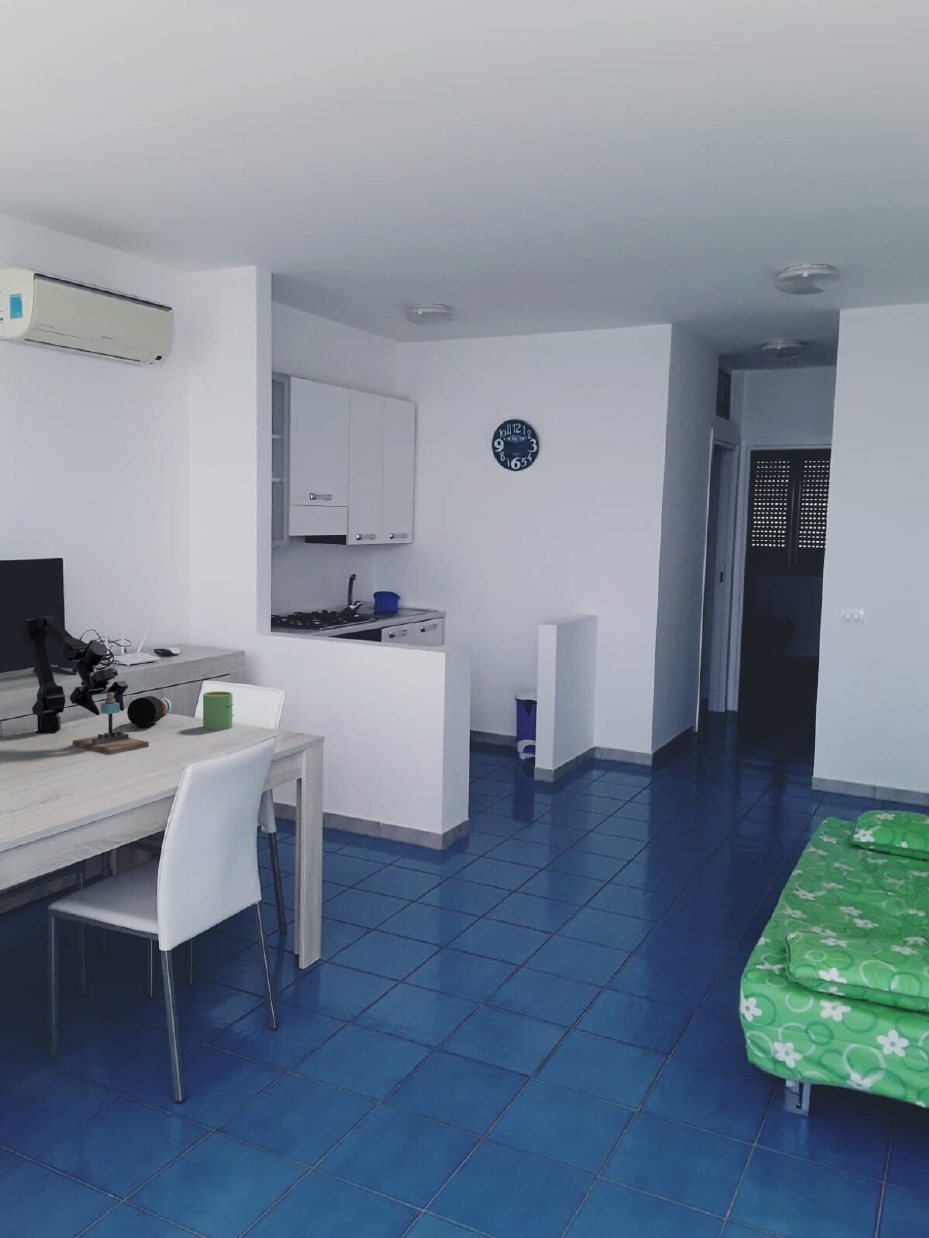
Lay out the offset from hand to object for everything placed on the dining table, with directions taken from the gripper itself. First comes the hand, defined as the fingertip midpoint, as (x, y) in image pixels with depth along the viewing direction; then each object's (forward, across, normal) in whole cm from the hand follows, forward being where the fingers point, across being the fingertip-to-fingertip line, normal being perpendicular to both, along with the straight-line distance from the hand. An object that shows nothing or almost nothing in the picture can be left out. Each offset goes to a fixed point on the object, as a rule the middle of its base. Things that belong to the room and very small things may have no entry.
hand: (111, 712), depth 320 cm
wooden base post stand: (+8, 0, +8) cm, 11 cm away
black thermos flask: (-9, +37, +26) cm, 46 cm away
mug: (+10, +43, +6) cm, 44 cm away
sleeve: (0, 0, 0) cm, 0 cm away
